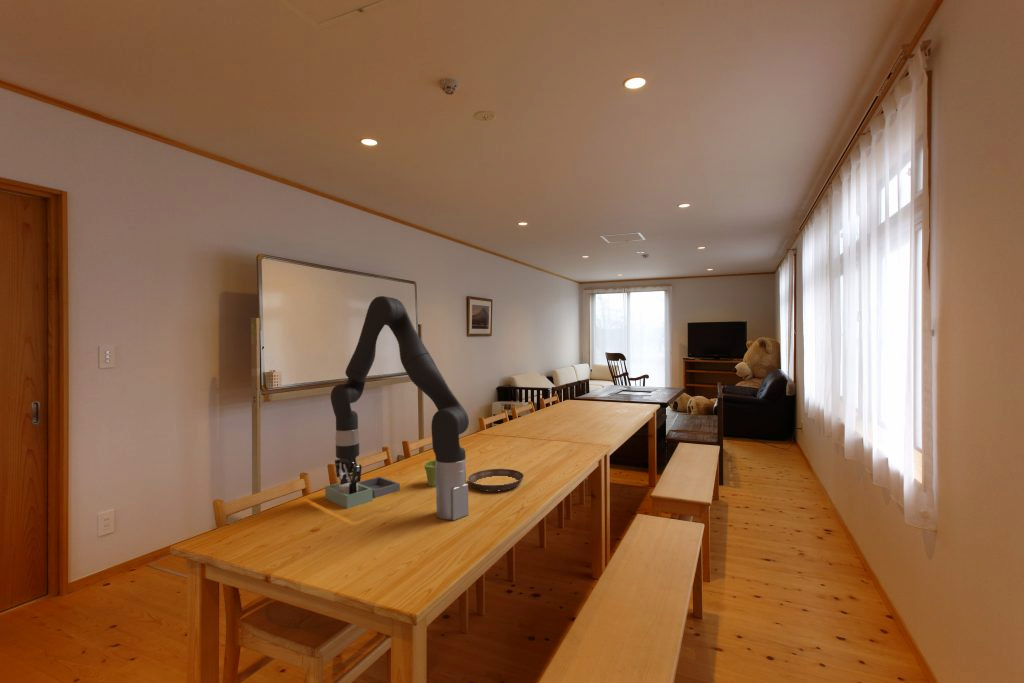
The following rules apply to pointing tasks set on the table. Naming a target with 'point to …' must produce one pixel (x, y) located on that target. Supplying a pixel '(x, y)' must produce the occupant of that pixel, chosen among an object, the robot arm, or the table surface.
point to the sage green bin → (348, 500)
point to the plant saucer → (496, 472)
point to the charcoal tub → (381, 486)
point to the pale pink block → (346, 488)
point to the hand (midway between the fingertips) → (348, 492)
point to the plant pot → (431, 472)
